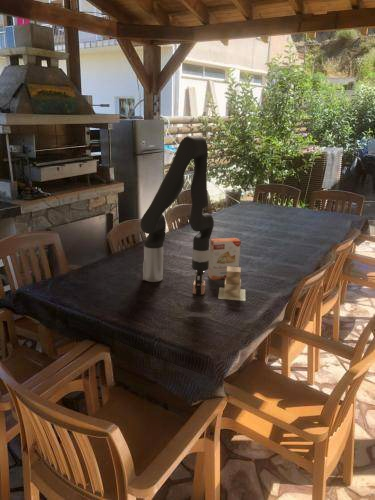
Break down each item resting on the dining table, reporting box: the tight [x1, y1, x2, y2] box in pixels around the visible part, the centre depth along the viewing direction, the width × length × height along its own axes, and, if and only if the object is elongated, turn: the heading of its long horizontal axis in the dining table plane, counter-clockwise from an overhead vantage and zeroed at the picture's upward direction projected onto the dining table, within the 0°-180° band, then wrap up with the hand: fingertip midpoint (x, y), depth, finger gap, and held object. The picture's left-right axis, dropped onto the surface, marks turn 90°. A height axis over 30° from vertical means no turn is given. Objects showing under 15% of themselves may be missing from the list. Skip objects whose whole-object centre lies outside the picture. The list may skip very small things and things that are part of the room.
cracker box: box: [207, 237, 242, 281], centre depth 203 cm, size 14×6×21 cm, turn 105°
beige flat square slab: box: [217, 287, 246, 302], centre depth 187 cm, size 12×12×2 cm
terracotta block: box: [192, 279, 206, 295], centre depth 188 cm, size 5×5×6 cm
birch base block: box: [223, 278, 242, 298], centre depth 186 cm, size 7×7×6 cm
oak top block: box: [226, 266, 242, 285], centre depth 184 cm, size 6×6×6 cm
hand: (199, 291), depth 188 cm, fingers open, 8 cm apart
